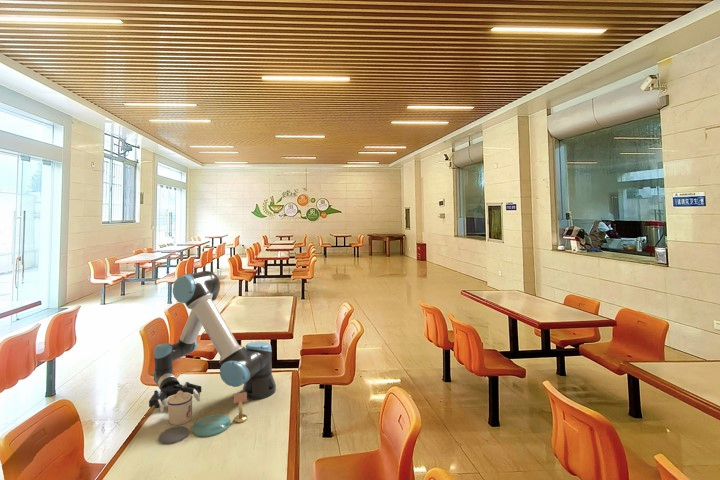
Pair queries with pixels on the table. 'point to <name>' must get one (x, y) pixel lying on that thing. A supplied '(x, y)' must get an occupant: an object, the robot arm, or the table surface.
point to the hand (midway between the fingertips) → (181, 403)
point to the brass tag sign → (240, 406)
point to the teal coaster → (211, 425)
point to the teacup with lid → (180, 408)
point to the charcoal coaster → (174, 435)
